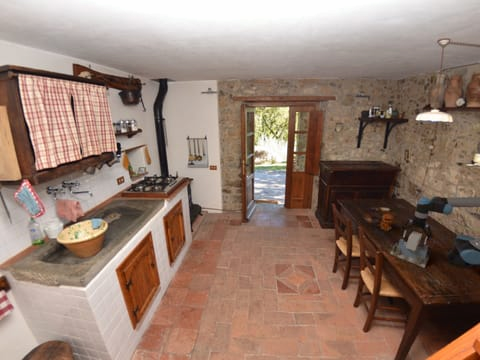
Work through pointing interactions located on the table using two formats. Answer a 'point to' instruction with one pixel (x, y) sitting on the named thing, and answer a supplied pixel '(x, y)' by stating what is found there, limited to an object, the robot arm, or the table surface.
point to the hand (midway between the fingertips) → (414, 240)
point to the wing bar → (414, 240)
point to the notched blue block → (410, 253)
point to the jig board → (418, 262)
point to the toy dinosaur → (386, 222)
